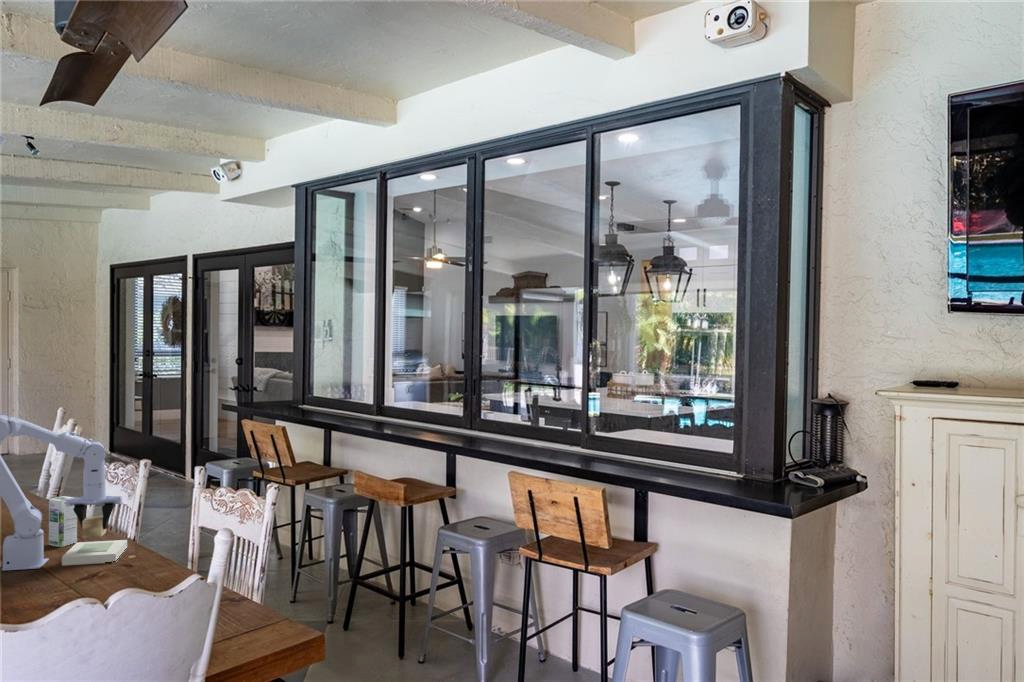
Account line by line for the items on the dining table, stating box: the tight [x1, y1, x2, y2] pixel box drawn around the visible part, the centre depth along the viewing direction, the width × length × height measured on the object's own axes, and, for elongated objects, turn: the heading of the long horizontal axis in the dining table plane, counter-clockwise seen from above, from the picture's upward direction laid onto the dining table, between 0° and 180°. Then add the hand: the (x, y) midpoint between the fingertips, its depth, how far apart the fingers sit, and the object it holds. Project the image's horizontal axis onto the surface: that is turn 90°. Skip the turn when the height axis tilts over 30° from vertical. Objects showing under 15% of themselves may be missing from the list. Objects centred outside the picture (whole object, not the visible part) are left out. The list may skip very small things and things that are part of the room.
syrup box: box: [48, 495, 78, 548], centre depth 236 cm, size 6×6×14 cm
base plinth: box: [61, 539, 128, 567], centre depth 225 cm, size 14×14×3 cm
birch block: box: [81, 515, 107, 539], centre depth 224 cm, size 5×5×5 cm
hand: (94, 528), depth 224 cm, fingers closed on birch block, 5 cm apart
